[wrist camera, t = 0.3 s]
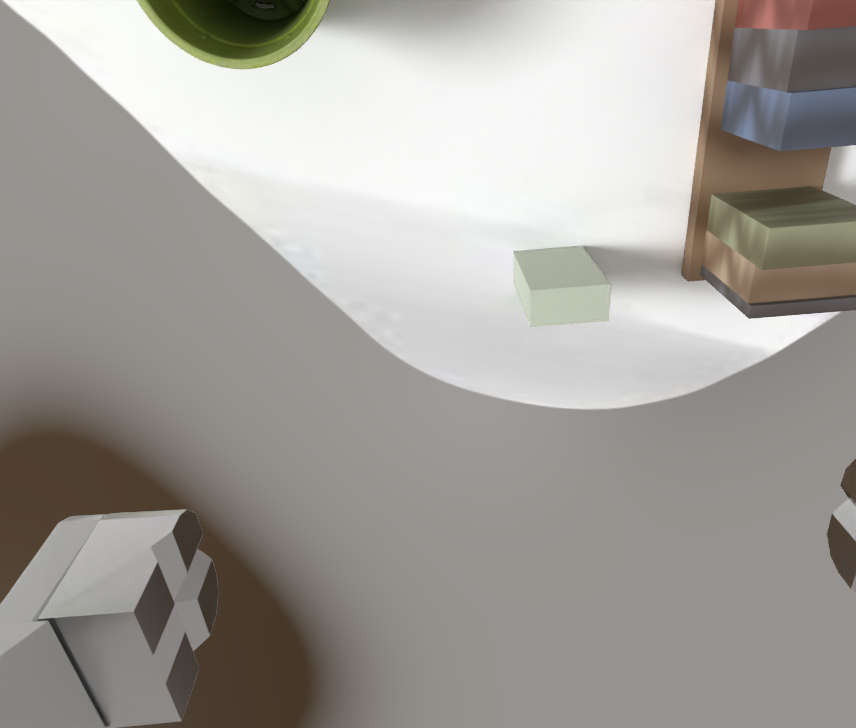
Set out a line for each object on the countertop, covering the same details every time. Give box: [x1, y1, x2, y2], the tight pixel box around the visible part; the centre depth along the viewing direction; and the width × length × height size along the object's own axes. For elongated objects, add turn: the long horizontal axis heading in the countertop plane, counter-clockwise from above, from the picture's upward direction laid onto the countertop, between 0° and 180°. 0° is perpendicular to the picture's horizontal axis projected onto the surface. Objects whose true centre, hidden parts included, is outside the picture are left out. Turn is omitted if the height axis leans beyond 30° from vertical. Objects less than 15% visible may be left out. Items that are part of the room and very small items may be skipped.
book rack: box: [682, 0, 856, 319], centre depth 45 cm, size 24×10×11 cm, turn 4°
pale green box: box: [513, 246, 611, 327], centre depth 52 cm, size 3×6×9 cm, turn 94°
